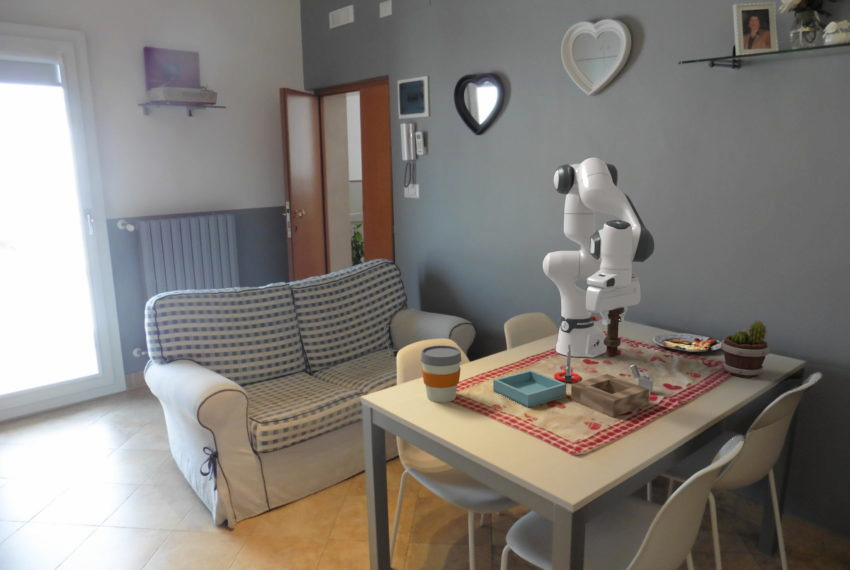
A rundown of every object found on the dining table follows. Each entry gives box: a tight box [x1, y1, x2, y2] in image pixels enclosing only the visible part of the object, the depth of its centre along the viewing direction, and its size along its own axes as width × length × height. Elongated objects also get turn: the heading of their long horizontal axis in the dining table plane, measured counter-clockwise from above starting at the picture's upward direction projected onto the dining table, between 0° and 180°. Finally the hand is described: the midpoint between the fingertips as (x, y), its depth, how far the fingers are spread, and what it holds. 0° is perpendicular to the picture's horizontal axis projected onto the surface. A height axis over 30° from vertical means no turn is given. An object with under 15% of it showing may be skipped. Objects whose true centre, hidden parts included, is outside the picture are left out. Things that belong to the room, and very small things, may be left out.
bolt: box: [604, 308, 624, 358], centre depth 180 cm, size 6×5×15 cm
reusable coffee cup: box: [420, 344, 462, 403], centre depth 189 cm, size 13×13×15 cm
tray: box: [492, 369, 567, 409], centre depth 191 cm, size 16×16×4 cm
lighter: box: [629, 363, 654, 394], centre depth 193 cm, size 7×2×8 cm, turn 48°
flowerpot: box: [720, 317, 771, 379], centre depth 205 cm, size 14×15×20 cm
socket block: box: [570, 373, 650, 418], centre depth 184 cm, size 16×16×5 cm
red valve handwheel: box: [553, 345, 581, 384], centre depth 204 cm, size 8×13×9 cm
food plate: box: [652, 332, 722, 353], centre depth 238 cm, size 25×23×4 cm
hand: (613, 323), depth 179 cm, fingers closed on bolt, 5 cm apart
